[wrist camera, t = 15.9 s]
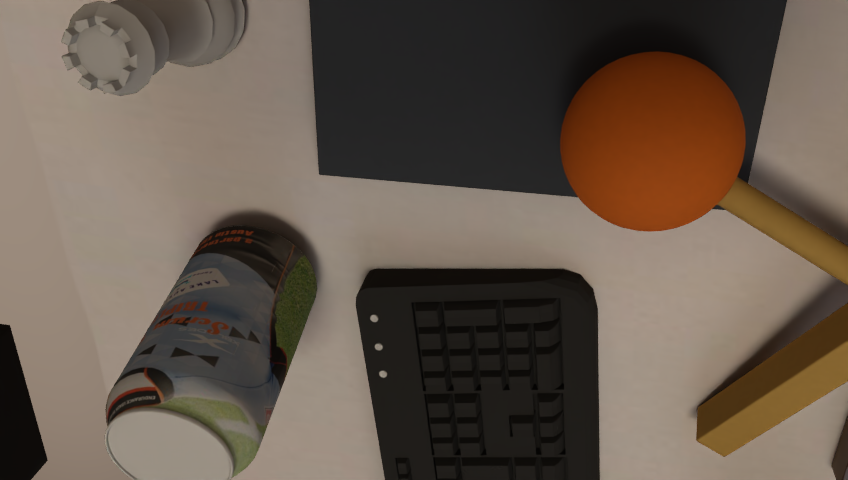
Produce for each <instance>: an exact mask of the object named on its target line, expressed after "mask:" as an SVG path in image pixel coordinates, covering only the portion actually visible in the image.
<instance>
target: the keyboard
mask: <svg viewBox="0 0 848 480" xmlns="http://www.w3.org/2000/svg"><path fill="white" fill-rule="evenodd" d="M356 309H357V315H358V321H359V327H360V333H361V339H362V345H363V351H364V357H365V363H366V369H367V375H368V381H369V387H370V393H371V398H372V404H373V410H374V416H375V422H376V428H377V434H378V440H379V446H380V452H381V458H382V464H383V470H384V476H385V480H600V473H599V391H598V309H597V305H596V300H595V296H594V292H593V289H592V288H591V287H590V286H589V284H588V283H587V282H586V281H585V280H584V279H583V277H582V276H581V275H579V274H576V273H573V272H570V271H567V270H564V269H375V270H372V271H370V272H369V273H368V275H367V276H366V278H365V280H364V282H363V284H362V286H361V288H360V290H359V293H358V295H357V297H356Z"/></svg>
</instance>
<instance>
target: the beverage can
mask: <svg viewBox="0 0 848 480" xmlns="http://www.w3.org/2000/svg"><path fill="white" fill-rule="evenodd" d="M316 291H317V282H316V277H315V273H314V270H313V268H312V266H311V264H310V262H309V261H308V260H307V258H306V257H305V255H304V254H303V253H302V252H301V251H300V250H299V249H298V248H297V247H296V246H295V245H293V244H292V243H291V242H289V241H288V240H287V239H285V238H283V237H281V236H280V235H278V234H276V233H273V232H271V231H268V230H266V229H262V228H258V227H252V226H231V227H226V228H222V229H219V230H217V231H214V232H213V233H211V234H210V235H208V236H207V237H205V238H204V239H203V241H202V242H201V243H200V244H199V246H198V247H197V249H196V251H195V252H194V254H193V255H192V257H191V259H190V260H189V262H188V264H187V265H186V267H185V269H184V270H183V272H182V274H181V275H180V277H179V279H178V280H177V282H176V284H175V285H174V287H173V289H172V290H171V292H170V294H169V295H168V297H167V299H166V300H165V302H164V304H163V305H162V307H161V309H160V310H159V312H158V314H157V315H156V317H155V319H154V320H153V322H152V323H151V325H150V327H149V328H148V330H147V332H146V333H145V335H144V337H143V338H142V340H141V342H140V343H139V345H138V347H137V348H136V350H135V352H134V353H133V355H132V357H131V358H130V360H129V362H128V363H127V365H126V367H125V368H124V370H123V372H122V373H121V375H120V377H119V378H118V380H117V382H116V383H115V385H114V387H113V388H112V390H111V392H110V394H109V396H108V400H107V404H106V422H107V426H108V427H107V429H106V433H105V446H106V448H107V452H108V454H109V456H110V458H111V459H112V460H113V462H114V463H115V464H116V466H117V467H118V468H119V469H120V470H121V471H122V472H124V473H125V474H126V475H127V476H129V477H130V478H131V479H133V480H231V478H232V477H234V476H236V475H237V474H239V473H240V472H241V471H243V470H244V469H245V468H246V467H247V466H248V465H249V464H250V463H251V462H252V460H253V459H254V458H255V456H256V454H257V451H258V449H259V447H260V444H261V441H262V439H263V436H264V433H265V431H266V428H267V425H268V423H269V420H270V417H271V415H272V412H273V409H274V407H275V404H276V401H277V399H278V396H279V393H280V391H281V388H282V385H283V383H284V380H285V377H286V375H287V372H288V369H289V367H290V364H291V361H292V359H293V356H294V353H295V351H296V348H297V345H298V343H299V340H300V337H301V335H302V332H303V329H304V327H305V324H306V321H307V319H308V316H309V313H310V311H311V308H312V305H313V303H314V300H315V297H316Z"/></svg>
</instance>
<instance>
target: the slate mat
mask: <svg viewBox="0 0 848 480" xmlns="http://www.w3.org/2000/svg"><path fill="white" fill-rule="evenodd" d="M786 2H787V0H309V6H310V24H311V42H312V59H313V77H314V94H315V112H316V129H317V147H318V164H319V174H320V175H330V176H341V177H353V178H364V179H376V180H387V181H399V182H410V183H422V184H433V185H445V186H456V187H468V188H479V189H491V190H502V191H514V192H525V193H537V194H548V195H560V196H571V197H578V196H577V195H576V193H575V192H574V190H573V188H572V187H571V185H570V183H569V181H568V179H567V176H566V174H565V171H564V168H563V164H562V159H561V152H560V137H561V130H562V124H563V121H564V117H565V114H566V111H567V109H568V107H569V105H570V103H571V101H572V99H573V97H574V96H575V94H576V93H577V92H578V90H579V89H580V88H581V87H582V85H583V84H584V83H585V82H586V81H587V80H588V79H589V78H590V77H591V76H592V75H593V74H595V73H596V72H597V71H598V70H600V69H601V68H603V67H604V66H606V65H607V64H609V63H611V62H614V61H616V60H618V59H620V58H623V57H626V56H629V55H632V54H638V53H643V52H657V51H658V52H670V53H674V54H679V55H683V56H686V57H688V58H691V59H694V60H696V61H698V62H700V63H701V64H703V65H705V66H707V67H708V68H709V69H711V70H712V71H713V72H715V73H716V74H717V75H718V76H719V77H720V78H721V79H722V80H723V81H724V82H725V83H726V85H727V86H728V87H729V89H730V90H731V91H732V93H733V95H734V96H735V98H736V100H737V102H738V104H739V107H740V110H741V113H742V116H743V120H744V125H745V137H746V144H745V152H744V158H743V162H742V165H741V168H740V171H739V173H738V176H737V177H738V178H740V179H742V180H743V181H745V182H746V183H748V180H749V176H750V171H751V166H752V162H753V157H754V152H755V148H756V143H757V138H758V133H759V129H760V124H761V119H762V115H763V110H764V105H765V101H766V96H767V91H768V87H769V82H770V77H771V73H772V68H773V63H774V58H775V54H776V49H777V44H778V40H779V35H780V30H781V26H782V21H783V16H784V12H785V7H786ZM712 209H721V210H726V209H724V208H722V207H721V206H719V205H716V206H715V207H714V208H712Z"/></svg>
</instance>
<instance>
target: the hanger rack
mask: <svg viewBox="0 0 848 480" xmlns="http://www.w3.org/2000/svg"><path fill="white" fill-rule="evenodd" d="M832 469H833V471H834V474H835V477H836V480H848V417H847V420H846V423H845V426H844V429H843V433H842V436H841V439H840V442H839V445H838V448H837V451H836V454H835V457H834V460H833V463H832Z"/></svg>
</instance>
